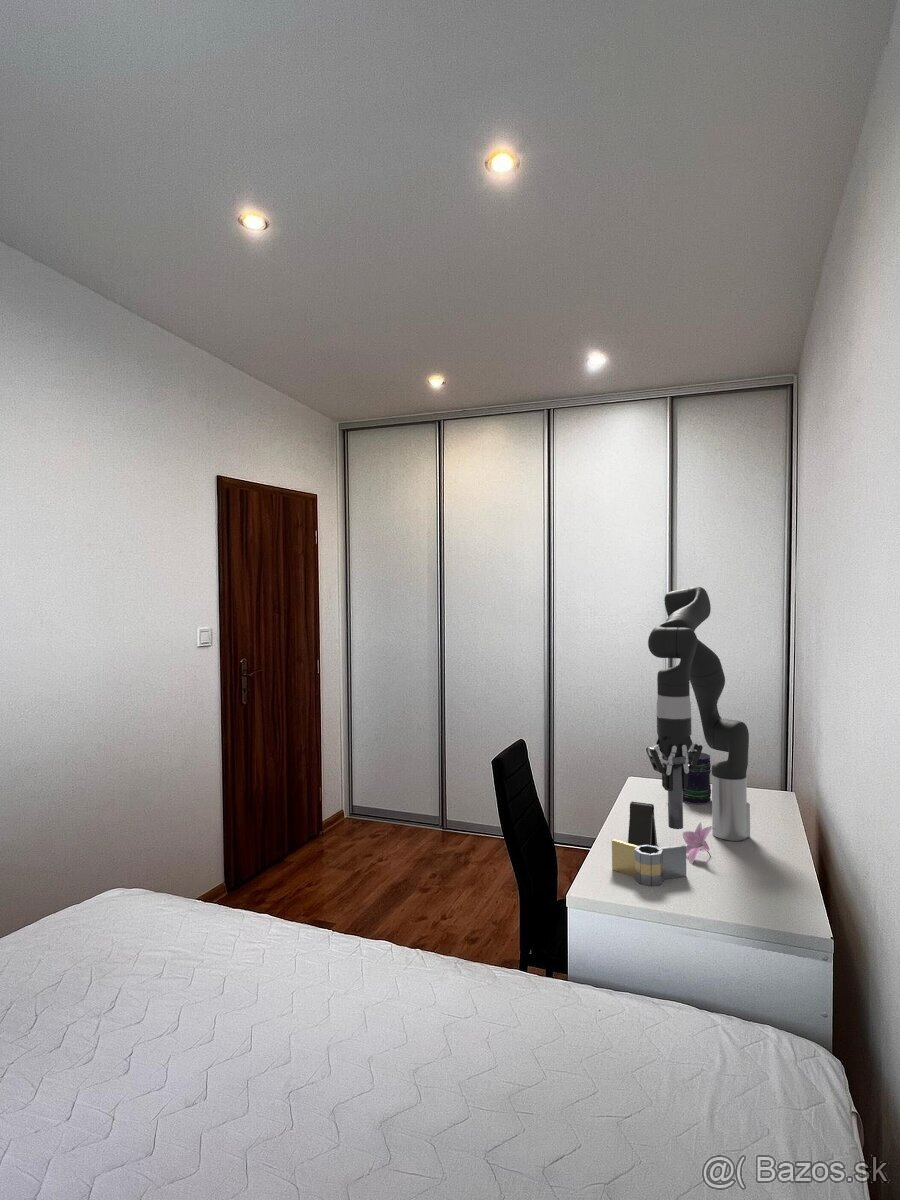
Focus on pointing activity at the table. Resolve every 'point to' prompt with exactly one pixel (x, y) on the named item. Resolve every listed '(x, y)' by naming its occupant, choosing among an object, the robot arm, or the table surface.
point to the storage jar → (699, 782)
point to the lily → (696, 841)
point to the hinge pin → (676, 794)
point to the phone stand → (642, 824)
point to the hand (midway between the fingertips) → (675, 789)
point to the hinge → (649, 862)
